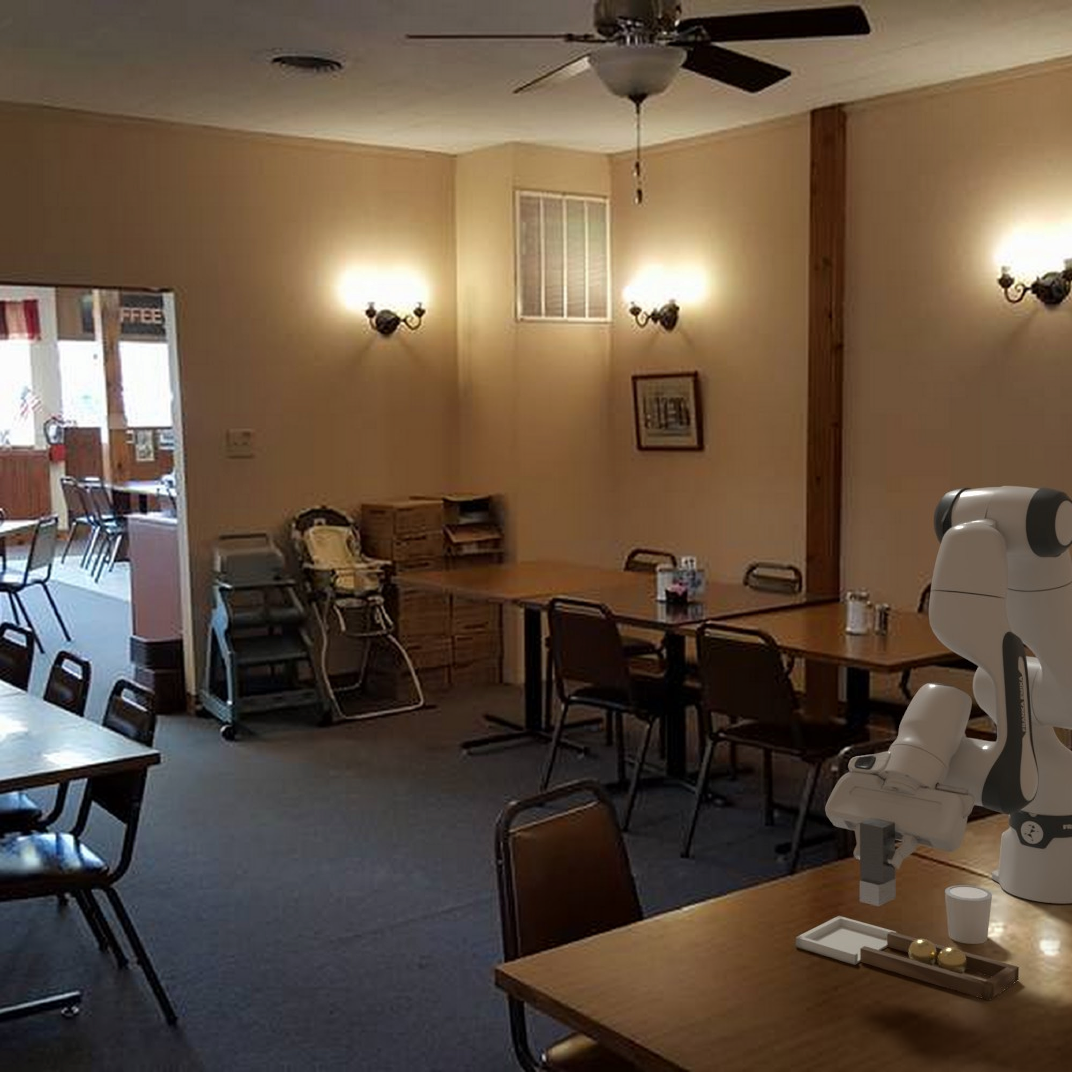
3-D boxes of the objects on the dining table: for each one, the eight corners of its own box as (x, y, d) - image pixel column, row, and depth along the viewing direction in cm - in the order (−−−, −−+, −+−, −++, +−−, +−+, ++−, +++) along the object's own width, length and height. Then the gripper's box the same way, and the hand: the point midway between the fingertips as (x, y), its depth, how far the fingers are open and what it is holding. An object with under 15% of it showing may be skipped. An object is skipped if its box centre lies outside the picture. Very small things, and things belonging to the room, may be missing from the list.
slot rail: (891, 944, 197) (891, 931, 197) (1018, 980, 183) (1018, 966, 183) (860, 961, 191) (860, 948, 191) (989, 1000, 177) (989, 986, 177)
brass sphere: (945, 967, 188) (945, 940, 188) (971, 974, 186) (972, 947, 185) (932, 975, 185) (932, 948, 185) (958, 983, 183) (958, 955, 182)
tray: (838, 925, 205) (838, 915, 205) (896, 941, 198) (896, 931, 198) (795, 946, 197) (795, 937, 197) (854, 964, 190) (854, 954, 190)
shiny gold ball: (916, 958, 191) (917, 932, 191) (942, 966, 189) (942, 939, 188) (903, 967, 189) (903, 940, 188) (928, 974, 186) (928, 947, 186)
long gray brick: (874, 892, 186) (874, 816, 186) (897, 898, 184) (897, 821, 183) (857, 900, 183) (857, 823, 182) (880, 907, 181) (880, 828, 180)
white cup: (994, 946, 196) (995, 901, 195) (946, 944, 197) (947, 898, 196) (988, 929, 202) (988, 885, 202) (942, 927, 204) (942, 883, 203)
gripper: (986, 803, 183) (952, 890, 177) (857, 779, 198) (822, 858, 192) (971, 778, 180) (936, 865, 174) (841, 755, 194) (804, 835, 188)
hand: (875, 861), depth 183 cm, fingers closed on long gray brick, 4 cm apart
